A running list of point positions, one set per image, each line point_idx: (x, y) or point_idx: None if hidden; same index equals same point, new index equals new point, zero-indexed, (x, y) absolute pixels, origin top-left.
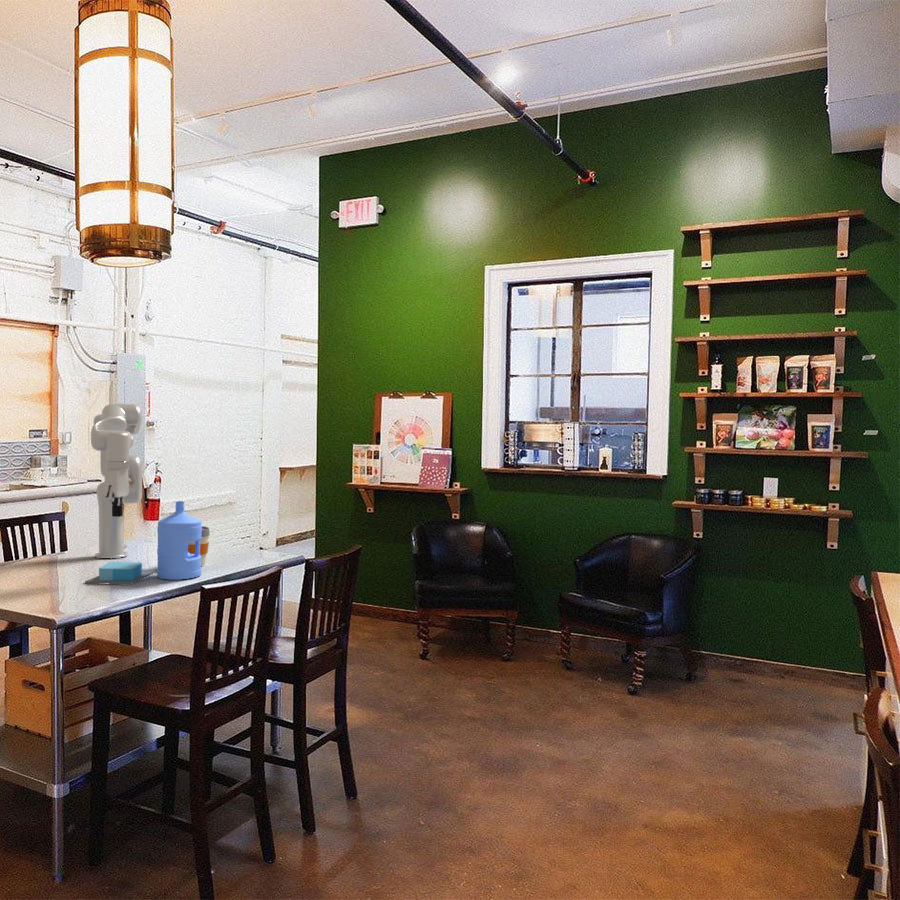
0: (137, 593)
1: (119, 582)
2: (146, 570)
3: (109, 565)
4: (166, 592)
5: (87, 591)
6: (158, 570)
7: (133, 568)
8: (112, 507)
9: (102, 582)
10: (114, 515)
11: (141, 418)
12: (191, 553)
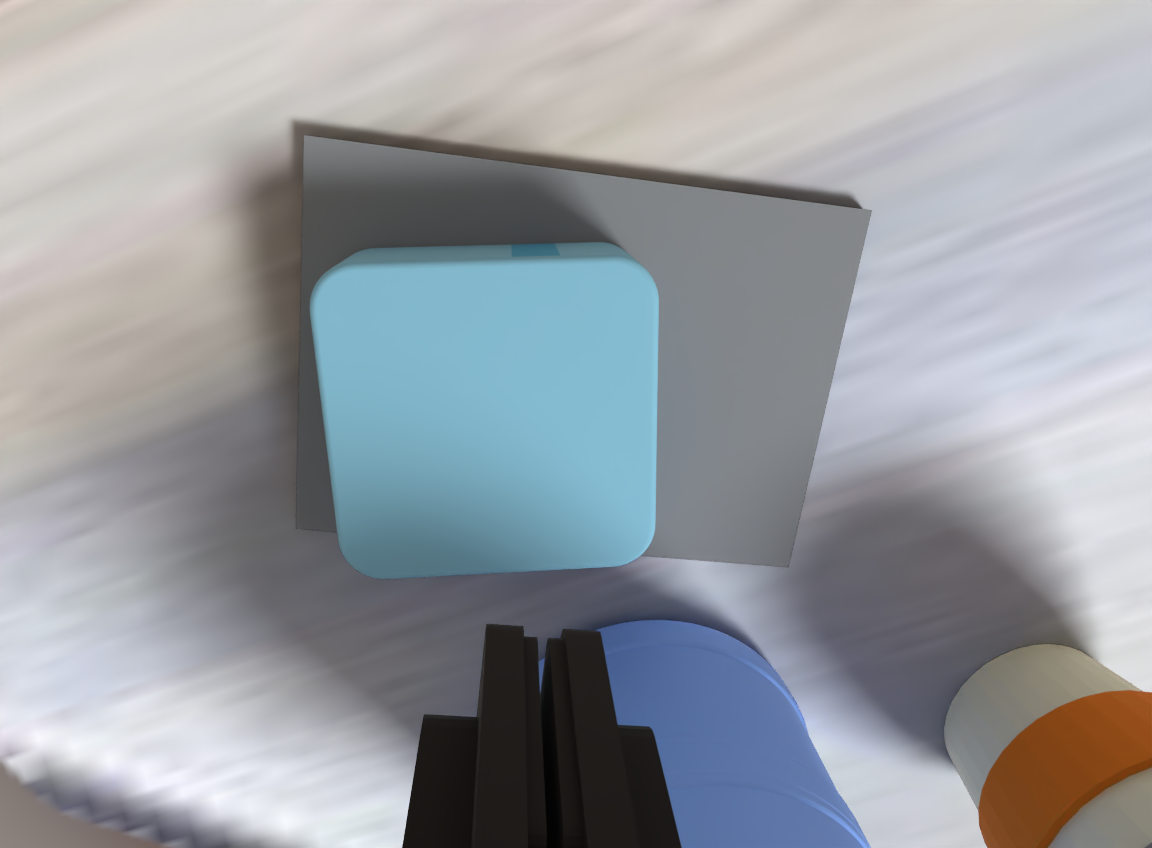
0: (45, 670)
1: (299, 453)
2: (786, 493)
3: (464, 326)
4: (121, 824)
5: (12, 288)
6: None
7: (379, 577)
8: (475, 802)
9: (300, 306)
10: (480, 685)
11: None
12: (986, 826)
